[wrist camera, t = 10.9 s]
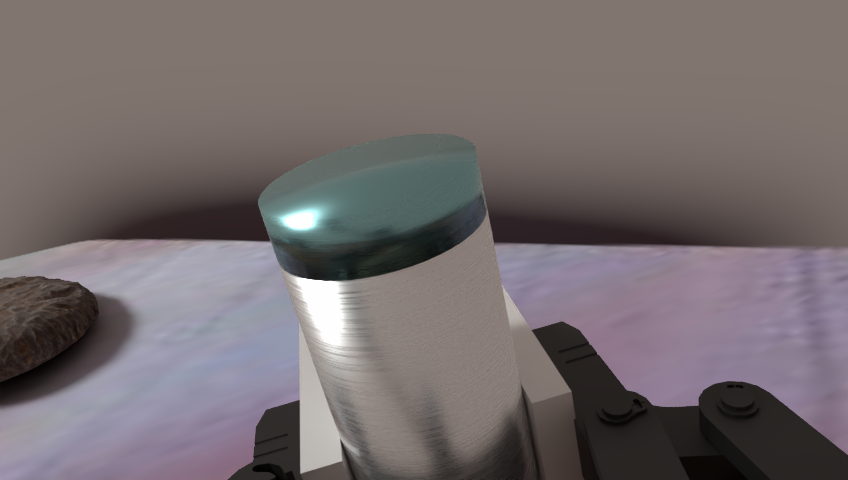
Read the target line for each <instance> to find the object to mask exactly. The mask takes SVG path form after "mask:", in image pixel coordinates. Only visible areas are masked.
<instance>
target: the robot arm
mask: <svg viewBox="0 0 848 480" xmlns="http://www.w3.org/2000/svg"><path fill="white" fill-rule="evenodd" d="M502 288H503V293H504V298H505V303H506V309H507V314H508V319H509V324H510V329H511V334H512V340H513V345H514V350H515V355H516V360H517V365H518V370H519V376H520V381H521V386H522V391H523V396H524V401H525V407H526V412H527V417H528V422H529V427H530V432H531V437H532V443H533V448H534V453H535V458H536V463H537V468H538V474H539V479H540V480H848V455H847V454H846V453H844V452H843V451H842V450H841V449H839V448H838V447H837V446H836V445H834V444H833V443H832V442H831V441H829V440H828V439H827V438H826V437H824V436H823V435H822V434H821V433H819V432H818V431H817V430H816V429H814V428H813V427H812V426H811V425H809V424H808V423H807V422H806V421H804V420H803V419H802V418H801V417H799V416H798V415H797V414H795V413H794V412H793V411H792V410H790V409H789V408H788V407H787V406H785V405H784V404H783V403H782V402H780V401H779V400H778V399H777V398H775V397H774V396H773V395H772V394H770V393H769V392H767V391H766V390H764V389H762V388H760V387H759V386H756V385H753V384H749V383H745V382H733V381H727V382H722V383H717V384H714V385H712V386H710V387H708V388H706V389H705V390H704V391H703V392H702V394H701V395H700V397H699V406H686V407H659V406H654V405H652V404H651V403H650V402H649V401H648V400H647V398H645V397H643V396H641V395H640V394H638V393H636V392H632V391H627V390H626V389H625V388H624V387H623V385H622V384H621V383H620V381H619V380H618V379H617V378H616V376H615V375H614V374H613V373H612V371H611V370H610V369H609V367H608V366H607V365H606V364H605V362H604V361H603V360H602V358H601V357H600V356H599V355H597V352H596V351H595V350H594V348H593V347H592V346H591V345H589V342H588V341H587V339H586V338H585V337H584V336H583V334H582V333H581V332H580V330H578V329H576V328H574V327H572V326H570V325H568V324H566V323H564V322H558V323H555V324H552V325H548V326H545V327H541V328H538V329H534V330H531V329H530V327H529V326H528V324H527V323H526V321H525V319H524V318H523V316H522V315H521V313H520V312H519V310H518V309H517V307H516V306H515V304H514V303H513V301H512V300H511V298H510V296H509V295H508V293H507V292H506V290H505V289H504V287H503V286H502ZM299 341H300V400H298V401H295V402H291V403H288V404H285V405H281V406H278V407H274V408H271V409H268V410H266V411H265V413H264V415H263V416H262V418H261V420H260V421H259V423H258V425H257V426H256V434H255V446H254V456H253V457H254V460H253V462H252V463H250V464H248V465H246V466H245V467H243V468H241V469H239V470H238V471H237V472H236V473H235V474H233V475H232V476H231V477H230V478H229V479H228V480H355V479H354V476H353V473H352V470H351V467H350V465H349V462H348V459H347V456H346V453H345V450H344V447H343V445H342V442H341V439H340V436H339V434H338V431H337V429H336V426H335V423H334V420H333V417H332V414H331V411H330V409H329V406H328V403H327V400H326V397H325V394H324V391H323V389H322V386H321V383H320V380H319V377H318V374H317V371H316V369H315V366H314V363H313V360H312V357H311V354H310V351H309V349H308V346H307V343H306V340H305V337H304V334H303V331H302V329H301V326H300V323H299Z"/></svg>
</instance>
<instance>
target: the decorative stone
mask: <svg viewBox="0 0 848 480" xmlns="http://www.w3.org/2000/svg"><path fill="white" fill-rule="evenodd" d="M98 314H99V310H98V304H97V301H96V298H95V296H94V295H93V293H92V292H90V291H89V290H88V289H87V288H85V287H83V286H82V285H80V284H79V283H78V282H70V281H64V280H60V279H48V278H45V277H41V276H36V277H26V276H22V277H17V278H3V279H0V382H2V381H4V380H7V379H9V378H12V377H14V376H17V375H19V374H22V373H24V372H27V371H29V370H31V369H33V368H35V367H37V366H39V365H40V364H42V363H44V362H46V361H48V360H50V359H51V358H53V357H54V356H56V355H57V354H59V353H61V352H62V351H64V350H65V349H66V348H68V347H69V346H70V345H72V344H73V343H74V342H76V341H77V340H78V339H79V338H81V337H82V336H83V335H84V334H85V332H86V330H87V329H88V328H89V327H90V326H92V324H93V323H92V321H94V320H96V318H97V316H98Z"/></svg>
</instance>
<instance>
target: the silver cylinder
mask: <svg viewBox="0 0 848 480" xmlns="http://www.w3.org/2000/svg"><path fill="white" fill-rule="evenodd" d="M258 206H259V209H260V211H261V214H262V217H263V220H264V223H265V226H266V229H267V232H268V234H269V237H270V240H271V243H272V246H273V249H274V252H275V254H276V257H277V260H278V263H279V266H280V269H281V272H282V274H283V277H284V280H285V283H286V286H287V289H288V292H289V294H290V297H291V300H292V303H293V306H294V309H295V312H296V314H297V317H298V320H299V323H300V326H301V329H302V331H303V334H304V337H305V340H306V343H307V346H308V349H309V351H310V354H311V357H312V360H313V363H314V366H315V369H316V371H317V374H318V377H319V380H320V383H321V386H322V389H323V391H324V394H325V397H326V400H327V403H328V406H329V409H330V411H331V414H332V417H333V420H334V423H335V426H336V429H337V431H338V434H339V436H340V439H341V442H342V445H343V447H344V450H345V453H346V456H347V459H348V462H349V465H350V467H351V470H352V473H353V476H354V479H355V480H540V479H539V474H538V468H537V463H536V458H535V453H534V448H533V443H532V437H531V432H530V427H529V422H528V417H527V412H526V407H525V401H524V396H523V391H522V386H521V381H520V376H519V370H518V365H517V360H516V355H515V350H514V345H513V340H512V334H511V329H510V324H509V319H508V314H507V309H506V303H505V298H504V293H503V288H502V283H501V278H500V273H499V267H498V262H497V257H496V252H495V247H494V242H493V236H492V232H491V226H490V221H489V216H488V211H487V206H486V200H485V195H484V190H483V185H482V180H481V175H480V170H479V164H478V159H477V154H476V149H475V146H474V145H473V143H472V142H470V141H469V140H467V139H464V138H462V137H458V136H454V135H446V134H416V135H406V136H399V137H392V138H386V139H381V140H376V141H371V142H367V143H363V144H359V145H355V146H352V147H348V148H345V149H341V150H338V151H335V152H332V153H329V154H327V155H324V156H321V157H319V158H316V159H314V160H311V161H309V162H307V163H305V164H302V165H300V166H298V167H296V168H294V169H293V170H291V171H289V172H287V173H286V174H284V175H282V176H281V177H279V178H278V179H276V180H275V181H273V182H272V183H271V184H270V185H269V186H267V188H266V189H265V190H264V191H263V192H262V194H261V195H260V197H259V200H258Z"/></svg>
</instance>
